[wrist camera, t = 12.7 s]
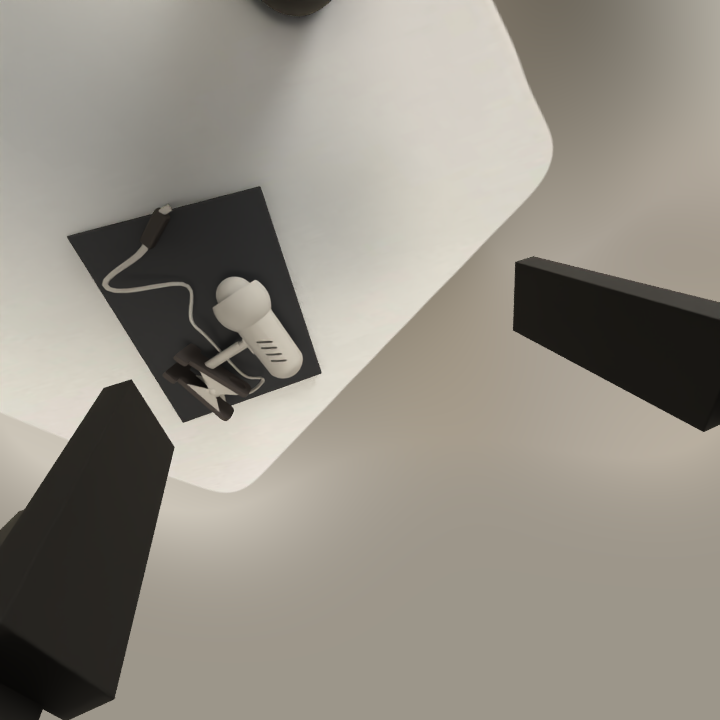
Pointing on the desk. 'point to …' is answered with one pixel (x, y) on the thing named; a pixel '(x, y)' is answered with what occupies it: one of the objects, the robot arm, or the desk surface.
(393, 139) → the desk surface
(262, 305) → the clip-on lamp
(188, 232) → the desk mat
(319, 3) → the cola bottle
